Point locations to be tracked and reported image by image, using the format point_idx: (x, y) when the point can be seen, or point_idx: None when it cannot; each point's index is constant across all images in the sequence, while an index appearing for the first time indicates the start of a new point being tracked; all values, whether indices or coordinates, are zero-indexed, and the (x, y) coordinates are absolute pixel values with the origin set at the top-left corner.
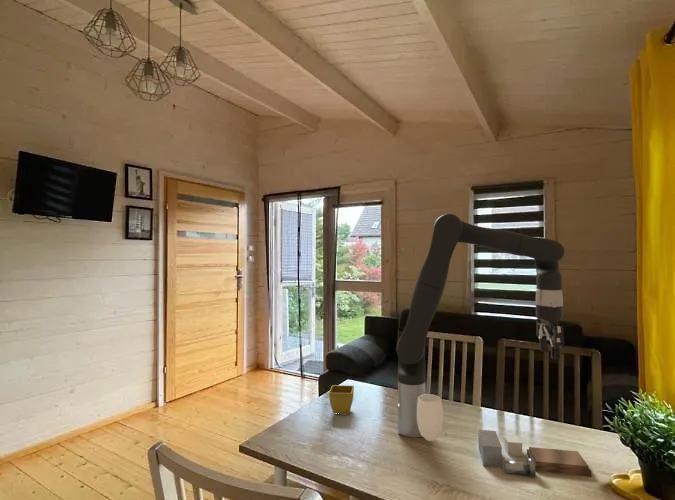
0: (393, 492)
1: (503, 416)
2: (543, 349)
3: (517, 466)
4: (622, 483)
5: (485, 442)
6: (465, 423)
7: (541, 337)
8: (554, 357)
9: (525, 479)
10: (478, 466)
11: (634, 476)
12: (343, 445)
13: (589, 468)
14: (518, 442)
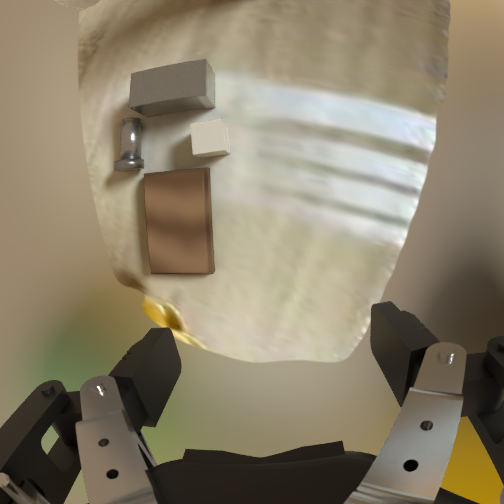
0: None
1: (402, 156)
2: (377, 330)
3: (120, 140)
4: (151, 311)
5: (144, 76)
6: (337, 60)
7: (418, 380)
8: (139, 342)
9: None
10: None
11: (179, 338)
12: None
13: (159, 273)
14: (192, 146)
